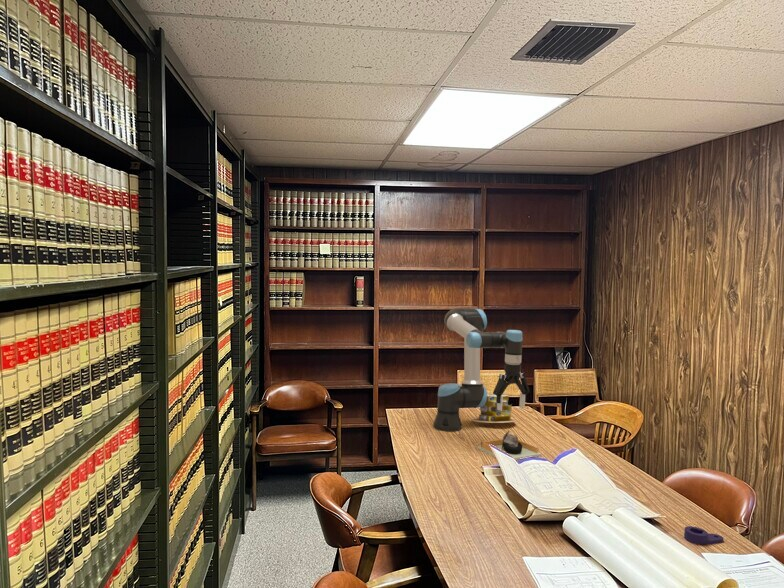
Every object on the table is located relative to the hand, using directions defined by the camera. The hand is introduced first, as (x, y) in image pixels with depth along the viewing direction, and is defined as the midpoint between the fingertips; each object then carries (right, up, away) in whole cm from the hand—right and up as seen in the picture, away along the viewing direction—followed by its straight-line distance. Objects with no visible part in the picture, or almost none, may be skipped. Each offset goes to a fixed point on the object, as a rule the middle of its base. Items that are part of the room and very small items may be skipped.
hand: (510, 408), depth 244 cm
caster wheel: (+1, -20, 0) cm, 20 cm away
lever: (+43, -24, -79) cm, 93 cm away
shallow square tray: (-1, -20, 0) cm, 20 cm away
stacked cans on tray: (+2, -20, +52) cm, 56 cm away
